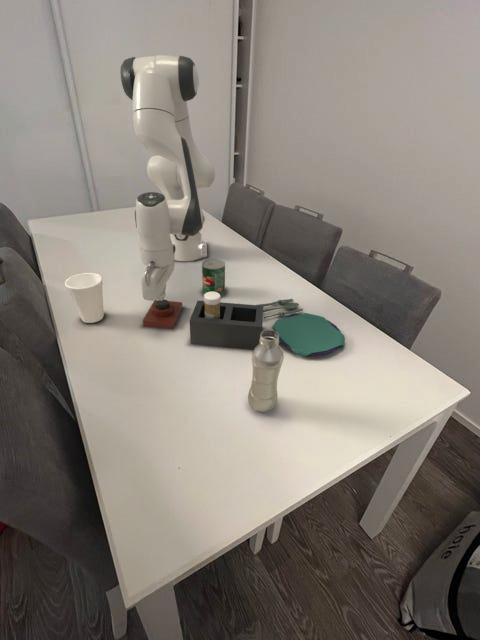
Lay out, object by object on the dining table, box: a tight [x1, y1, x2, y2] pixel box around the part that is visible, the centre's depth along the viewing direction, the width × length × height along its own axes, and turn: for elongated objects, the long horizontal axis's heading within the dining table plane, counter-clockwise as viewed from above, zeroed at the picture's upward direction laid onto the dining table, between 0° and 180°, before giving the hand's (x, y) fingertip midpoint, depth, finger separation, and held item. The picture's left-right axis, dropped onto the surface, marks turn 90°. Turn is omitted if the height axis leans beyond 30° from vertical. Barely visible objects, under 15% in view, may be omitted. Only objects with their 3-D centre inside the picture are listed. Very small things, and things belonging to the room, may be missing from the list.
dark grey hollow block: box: [189, 299, 265, 351], centre depth 96 cm, size 11×20×8 cm, turn 85°
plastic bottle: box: [247, 329, 285, 413], centre depth 72 cm, size 6×7×20 cm
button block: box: [142, 300, 183, 330], centre depth 104 cm, size 12×9×4 cm
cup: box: [64, 272, 104, 324], centre depth 99 cm, size 10×10×13 cm
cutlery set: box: [258, 298, 346, 357], centre depth 102 cm, size 20×30×2 cm, turn 23°
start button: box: [156, 298, 169, 310], centre depth 103 cm, size 4×4×2 cm
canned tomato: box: [201, 258, 226, 297], centre depth 116 cm, size 8×8×11 cm
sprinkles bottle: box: [203, 292, 222, 319], centre depth 95 cm, size 5×5×14 cm
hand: (161, 298), depth 101 cm, fingers closed
